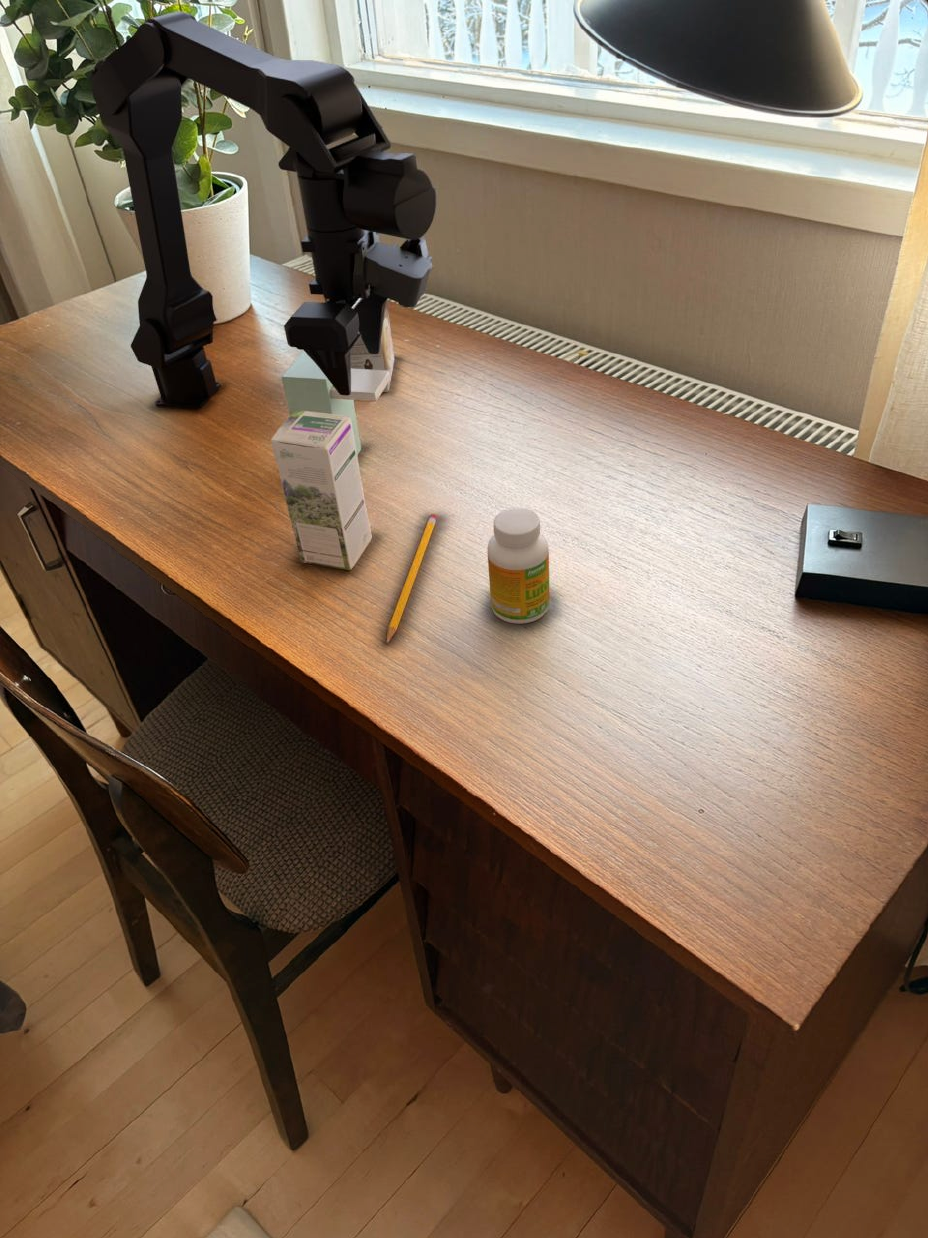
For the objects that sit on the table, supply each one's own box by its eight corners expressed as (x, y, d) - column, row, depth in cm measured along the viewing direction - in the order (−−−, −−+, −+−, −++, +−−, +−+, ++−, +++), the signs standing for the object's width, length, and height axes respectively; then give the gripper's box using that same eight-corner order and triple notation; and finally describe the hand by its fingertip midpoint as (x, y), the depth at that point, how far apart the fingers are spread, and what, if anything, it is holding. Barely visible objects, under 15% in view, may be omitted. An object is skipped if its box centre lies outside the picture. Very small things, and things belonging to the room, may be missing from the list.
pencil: (437, 519, 98) (437, 514, 97) (392, 645, 84) (391, 640, 84) (430, 519, 98) (429, 513, 98) (383, 645, 84) (382, 639, 84)
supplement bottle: (531, 632, 84) (529, 546, 78) (480, 614, 86) (473, 528, 80) (559, 597, 87) (559, 511, 81) (509, 581, 90) (505, 496, 83)
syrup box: (374, 538, 96) (352, 411, 87) (350, 573, 92) (325, 445, 83) (323, 530, 98) (297, 405, 88) (298, 565, 94) (267, 438, 84)
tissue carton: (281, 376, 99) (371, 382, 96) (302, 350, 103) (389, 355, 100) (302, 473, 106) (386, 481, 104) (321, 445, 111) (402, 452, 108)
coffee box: (348, 362, 126) (328, 241, 116) (395, 359, 126) (379, 237, 115) (340, 395, 120) (318, 270, 109) (390, 392, 119) (373, 267, 109)
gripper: (386, 262, 81) (406, 423, 91) (444, 189, 94) (456, 337, 104) (266, 259, 83) (300, 416, 93) (340, 188, 96) (362, 333, 107)
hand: (360, 373), depth 99 cm, fingers open, 9 cm apart
